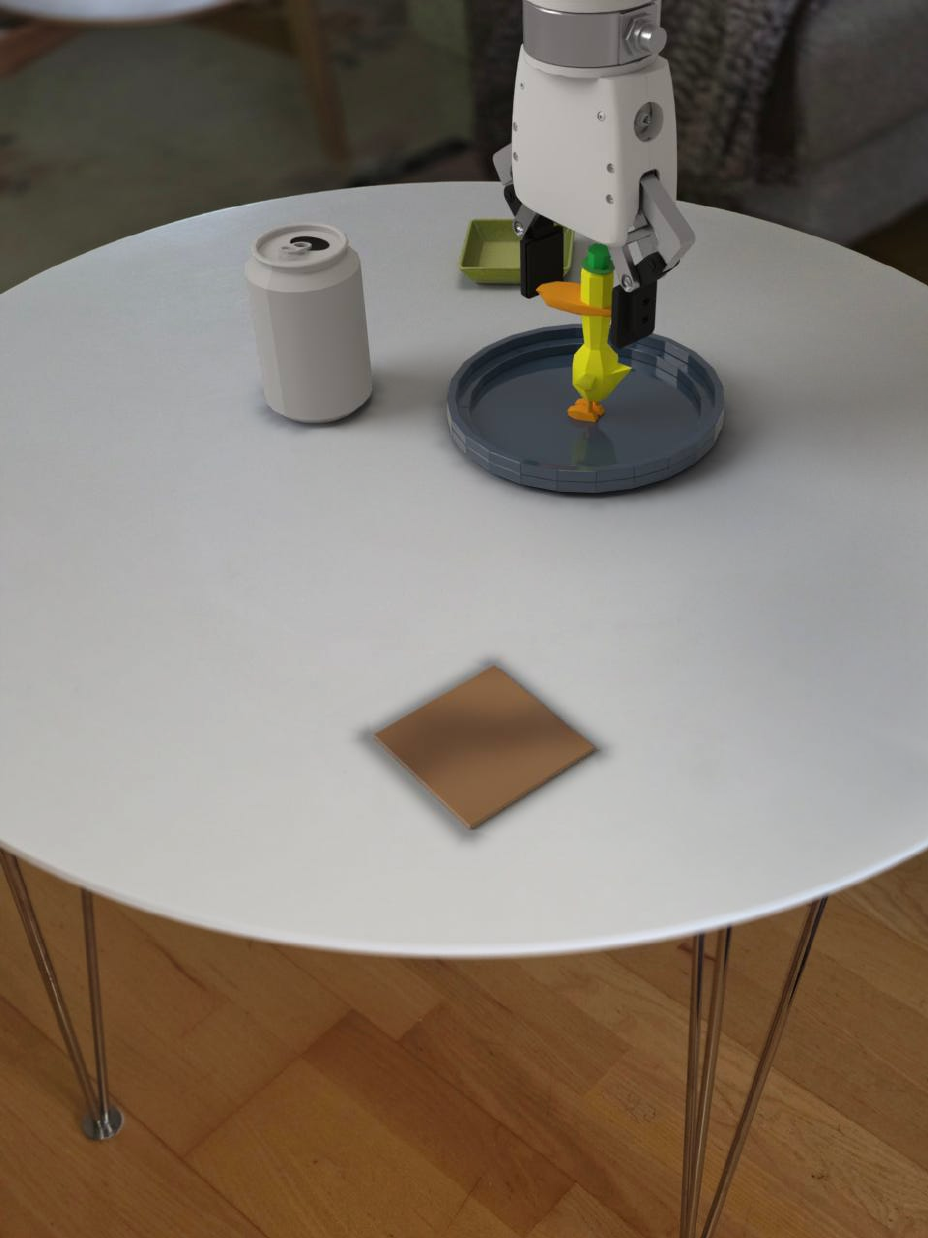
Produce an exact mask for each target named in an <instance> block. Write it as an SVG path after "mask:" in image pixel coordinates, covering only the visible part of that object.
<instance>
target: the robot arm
mask: <svg viewBox="0 0 928 1238" xmlns="http://www.w3.org/2000/svg"><path fill="white" fill-rule="evenodd" d="M661 13H662V0H522V44H521V45H520V50H519V55H518V61H517V67H516V75H515V81H514V83H515V84H514V94H513V103H512V104H513V106H512V121H511V122H512V124H511V125H512V126H511V142H510V143H508V144H507V145H506V146H504V147H502V148H501V149H499V150H498V151H497V152H495V153H494V154H493V155H492V162H493V165H494V168H495V170H496V172H497V175H498V177H499V180H500V183H501V185H502V186H503V187H504V188H503V198H504V200H505V201H506V203H507V206H508V207H509V210H510V212H511V213H512V215H513V217H514V218H513V219H514V220H513V230H514V232H515V234H516V235H517V236H518V237H522V240H520V282H521V284H520V295H521V296H522V297H523V298H525V299H528V300H531V299H533V298H536V297H538V296H540V294H539V293H538V292H537V291H536V289H537V288H538V287H539V286H541V285H542V284H546V283H551V282H556V281H558V282H565V281H564V280H565V276H564V234H563V227H562V226H559V225H556V226H554V224H555V223H556V222H557V223H559V224H561V225H563V226H565V227H567V228H569V229H571V230H574V231H575V233H578V234H579V235H582V236H584V237H586V238H588V239H590V240H592V241H594V242H596V243H598V244H603V245H606V246H607V247H608V250H609V253H610V256H611V260H612V261H613V264H614V267H615V269H614V271H615V272H616V275H617V278H618V281H619V284H618V285H615V286H613V290H612V304H611V321H610V325H611V336H610V341H611V344H612V345H613V346H615V347H617V348H618V349H621V348H623V347H625V346H628V345H630V344H632V343H634V342H636V341H638V340H640V339H642V338H645V337H647V336H649V335H651V334H652V333H654V332H655V328H656V317H657V316H656V314H657V296H658V294H657V293H658V281H659V280H661V279H664V278H665V277H666V276H667V274H668V273H670V272H671V271H672V270H673V269H675V268H676V267H677V266H678V265H679V264H680V262H681V259H683V258H684V256H685V255H686V254H687V253H688V251H689V250H690V249H691V247H693V245H694V244H695V242H696V233H695V232H694V230H693V228H692V227H691V226H690V224H689V223H688V221H687V220H686V219H685V217H684V215H683V214H682V212H681V211H680V210H679V208H678V206H677V189H678V188H677V187H678V147H677V146H678V140H677V139H678V138H677V121H676V119H677V118H676V106H675V97H674V89H673V88H674V87H673V81H672V75H671V70H670V64H669V61H668V59H666V57H665V58H664V57H663V56H661V55H659V53H661V52H662V51H663V50H664V49H665V46H666V44H667V40H668V39H667V38H668V35H667V31H666V30H665V28H663V27H661V18H662V17H661V16H662V15H661ZM632 227H633V228H634V229H633V230H631V231H629V228H632ZM656 234H657V235H656ZM657 236H658V237H657ZM634 242H635V243H637V246H638V248H639V251H640V255H641V258H642V259H641V260H640V261H639V262H637V263H636V264H635V262H634V259H633V258H634V257H633V256H632V253H631V251H630V247H629V245H630V244H633V243H634Z"/></svg>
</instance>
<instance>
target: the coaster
mask: <svg viewBox="0 0 928 1238" xmlns="http://www.w3.org/2000/svg"><path fill="white" fill-rule="evenodd" d="M373 739H374V740H375V741H376V742H377V743H378V744H379V745H380V746H381V747H382V748H383V749H385V751H387V753H388V754H389V755H391V756H392V757H393V758H394V759H395V760H396V761H397V762H398V763H399V764H400V765H401V766H402V767H403V768H404V769H405V770H406V771H407V772H408V773H410V774H411V776H413V777H414V779H415V780H417V781H418V782H419V783H420V784H421V785H422V786H423V787H424V788H425V789H426V790H427V791H428V792H430V794H432V795H433V796H434V797H435V798H436V799H437V800H438V801H439V802H440V803H441V804H442V805H443V806H444V807H445V808H446V809H447V810H448V811H449V812H450V813H451V814H452V815H453V816H454V817H456V818H457V819H458V820H459V821H460V822H461V823H462V824H463V825H464V826H465V827H466V828H467V829H468V830H470V831H471V830H473V829H475V828H476V827H478V826H479V825H481V824H482V823H484V822H486V821H487V820H489V819H490V818H492V817H494V816H495V815H496V814H498V813H500V812H501V811H503V810H504V809H506V808H508V807H509V806H510V805H512V804H514V803H515V802H517V801H518V800H520V799H522V798H523V797H524V796H526V795H528V794H529V793H531V792H533V791H534V790H536V789H537V788H539V787H540V786H542V785H543V784H545V783H546V782H548V781H550V780H552V778H554V777H556V776H557V775H559V774H560V773H562V772H564V771H565V770H567V769H568V768H570V767H572V766H573V765H575V764H577V762H579V761H580V760H583V759H584V758H585V757H587V756H589V755H590V754H592V753H593V752H595V746H594V745H593V744H591V743H590V742H589V741H587V740H586V739H585V738H584V737H583V736H582V735H580V734H579V733H578V732H576V730H574V729H573V728H572V727H571V726H570V725H568V724H567V723H565V722H564V721H563V720H562V719H561V718H560V717H558V716H557V715H556V714H555V713H554V712H552V711H551V710H550V709H549V708H548V707H546V706H545V704H543V703H541V702H540V701H539V700H538V699H537V698H535V697H534V696H533V695H532V694H531V693H529V692H528V691H527V690H526V689H524V688H523V687H522V686H521V685H520V684H518V683H517V682H516V681H515V680H514V679H512V678H511V677H510V676H509V675H507V674H506V673H504V672H503V670H501V669H500V668H499V667H497V666H496V665H494V664H493V665H492V666H489V667H488V668H486V669H484V670H483V671H481V672H479V673H478V674H476V675H474V676H473V677H470V678H469V679H467V680H466V681H463V682H462V683H460V684H458V685H457V686H455V687H453V688H452V689H450V690H448V691H446V692H444V693H443V694H441V695H439V696H438V697H436V698H434V699H433V700H431V701H429V702H427V703H425V704H424V705H422V706H420V707H418V708H417V709H415V710H413V711H412V712H410V713H408V714H407V715H405V716H403V717H401V718H400V719H398V720H396V721H394V722H393V723H391V724H389V725H387V726H386V727H384V728H383V729H381V730H379V731H377V732H375V733H373Z"/></svg>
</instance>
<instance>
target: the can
mask: <svg viewBox="0 0 928 1238" xmlns="http://www.w3.org/2000/svg"><path fill="white" fill-rule="evenodd" d="M250 251H251V254H252V255H251V256H250V257H249V259H248V260H247V261H246V264H245V266H244V268H243V269H244V275H245V281H246V288H247V294H248V301H249V307H250V313H251V319H252V326H253V331H254V338H255V343H256V344H255V345H256V349H257V356H258V363H259V368H260V374H261V382H262V387H263V394H264V398H265V403H266V404H267V406H269V408H271V410H273V411H274V412H276V413H277V414H280V415H281V416H283V417H285V418H287V419H289V420H291V421H294V422H298V423H302V424H303V423H304V424H324V423H330V422H335V421H338V420H340V419H341V420H342V419H344V418H346V417H348V416H349V415H351V414H353V413H354V412H356V411H357V410H358V409H359V408H360V407H361V406H363V405H364V404H365V403H366V401H367V400H368V399H369V398H370V397H371V395H372V392H373V388H374V385H373V384H374V382H373V374H372V372H373V371H372V364H371V352H370V342H369V333H368V324H367V323H368V322H367V313H366V304H365V303H366V302H365V294H364V293H365V292H364V285H363V283H364V282H363V275H362V274H363V273H362V272H363V271H362V263H361V259H360V256H359V254H358V252H357V251H356V250H355V249H353V247H351V245H349V238H348V235H347V233H345V232H344V231H343V230H341V229H340V227H337V226H334V225H332V224H329V223H324V222H317V221H298V222H291V223H285V224H281V225H278V226H275V227H271V228H270V229H268V230H266V231H264V232H262V233H261V234H259V235H258V236H257V237H256V238H255V239H254V240H253V242H252V243H251V246H250Z"/></svg>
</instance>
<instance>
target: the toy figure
mask: <svg viewBox="0 0 928 1238" xmlns="http://www.w3.org/2000/svg"><path fill="white" fill-rule="evenodd" d="M580 266H581V271H580V283H578V282H571V281H563V282H558V281H556V282H551V283H546V284H542V285H541V286H539V287H538V288H537V289H536V291H537V292H538V293H539V294H540V295H539V296H540V298H541V299H542V300H543V301H544V303H545V304H546V306H547V307H549V308H551V309H556V310H558V311H562V312H566V313H568V314H573V315H576V316H580V317H581V324H582V327H583V335H584V344H583V345H582V346H581V348H580V349H579V350H578V351H577V352H576V353H575V354H574V360H573V386H574V387H575V388H576V389H577V391H578V392H579V393H580V395H581V396H582V397H583V398H581V399H578V400H577V401H576V403H575V406H571V407H570V408H569V409H568V415H569V416H571V417H572V418H574V419H578V420H583V421H591V422H596V420H597V419H598V415H602V414H603V413H604V412H605V409H604V408H603V407H602V405H600V404H599V401H601V400H604V399H606V398H607V397H608V395H609V394H610V393H611V392H612V391H613V389H614V388H615V387H616V386H617V384H618V383H619V382H620V381H621V380H622V379H623V378H624V377H625V376H626V374H627V373H628V372H629V371H630V370H631V369H632V368H631V367H628V366H626V365H623V364H620V363H618V354H617V353H615V352H614V351H613V349H612V348H611V347H610V346H609V345H608V343H607V340H608V333H609V327H610V325H611V304H612V290H613V288H614V285H615V284H614V283H615V282H614V279H615V267H614V264H613V261H612V259H611V256H610V253H609V250H608V247H607V246H606V245H603V244H601V243H599V242H595V243H593V244H590V245H588V248H587V256H585V257H583V258H582V259H581V261H580Z"/></svg>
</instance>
